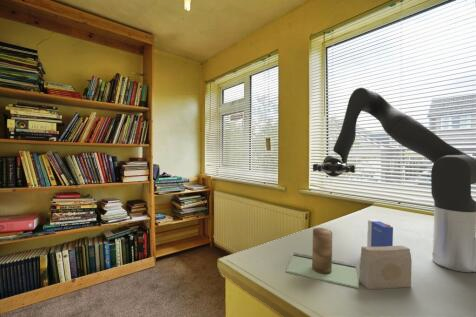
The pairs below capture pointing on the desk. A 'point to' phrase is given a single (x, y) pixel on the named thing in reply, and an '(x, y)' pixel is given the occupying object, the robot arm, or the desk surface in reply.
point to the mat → (337, 275)
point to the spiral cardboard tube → (322, 251)
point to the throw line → (332, 260)
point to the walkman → (379, 234)
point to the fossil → (385, 267)
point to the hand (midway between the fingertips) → (332, 169)
